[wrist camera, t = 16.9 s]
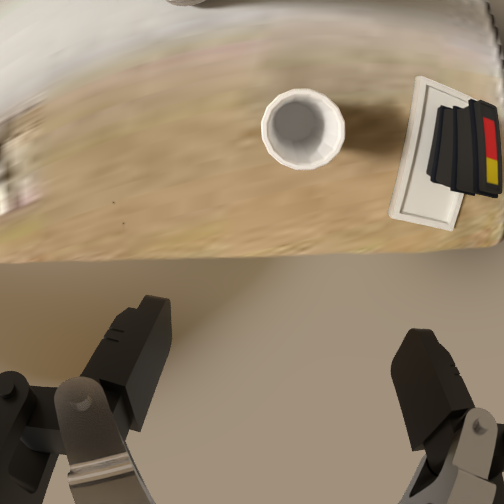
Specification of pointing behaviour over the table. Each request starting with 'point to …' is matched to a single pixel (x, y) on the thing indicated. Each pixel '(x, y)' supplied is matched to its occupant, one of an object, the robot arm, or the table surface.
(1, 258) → the table surface
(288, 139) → the cup
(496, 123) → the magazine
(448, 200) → the cradle
